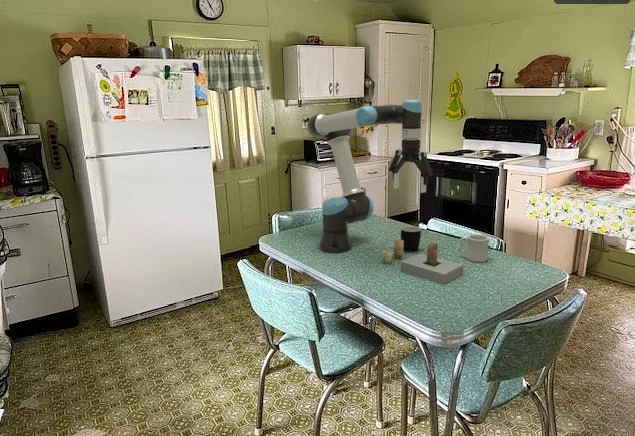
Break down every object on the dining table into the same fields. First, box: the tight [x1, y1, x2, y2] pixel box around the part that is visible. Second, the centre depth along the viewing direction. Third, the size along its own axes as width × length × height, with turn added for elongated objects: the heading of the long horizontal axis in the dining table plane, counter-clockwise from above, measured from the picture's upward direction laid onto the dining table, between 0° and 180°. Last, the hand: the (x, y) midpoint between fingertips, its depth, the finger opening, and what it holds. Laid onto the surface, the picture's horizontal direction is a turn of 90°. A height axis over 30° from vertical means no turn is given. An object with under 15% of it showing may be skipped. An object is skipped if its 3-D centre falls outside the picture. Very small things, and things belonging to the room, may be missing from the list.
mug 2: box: [458, 233, 490, 263], centre depth 198 cm, size 12×9×10 cm
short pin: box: [382, 249, 393, 265], centre depth 196 cm, size 4×4×5 cm
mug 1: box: [400, 225, 422, 253], centre depth 212 cm, size 12×9×10 cm
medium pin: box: [393, 238, 404, 260], centre depth 201 cm, size 4×4×8 cm
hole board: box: [400, 252, 465, 285], centre depth 184 cm, size 20×14×4 cm
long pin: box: [426, 242, 439, 267], centre depth 183 cm, size 4×4×12 cm
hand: (409, 190), depth 192 cm, fingers open, 13 cm apart
